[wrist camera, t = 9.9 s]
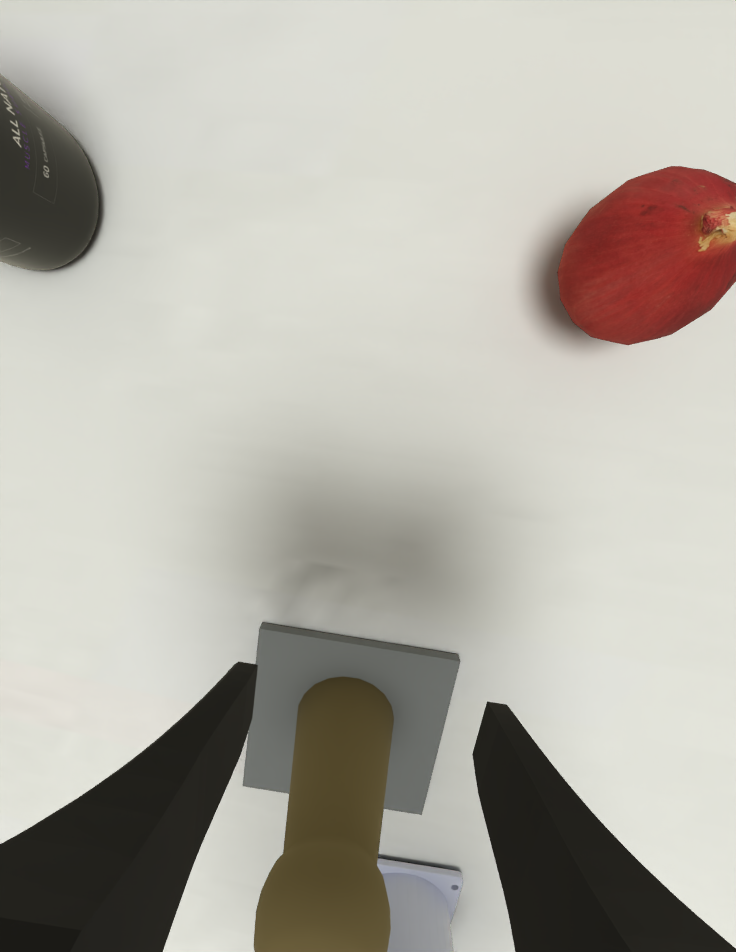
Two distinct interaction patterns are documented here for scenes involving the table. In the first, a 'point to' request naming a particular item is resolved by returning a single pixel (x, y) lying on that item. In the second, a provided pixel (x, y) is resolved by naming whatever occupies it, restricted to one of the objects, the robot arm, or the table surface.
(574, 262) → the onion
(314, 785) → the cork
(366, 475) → the table surface
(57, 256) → the supplement bottle
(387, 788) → the placemat
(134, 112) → the table surface
